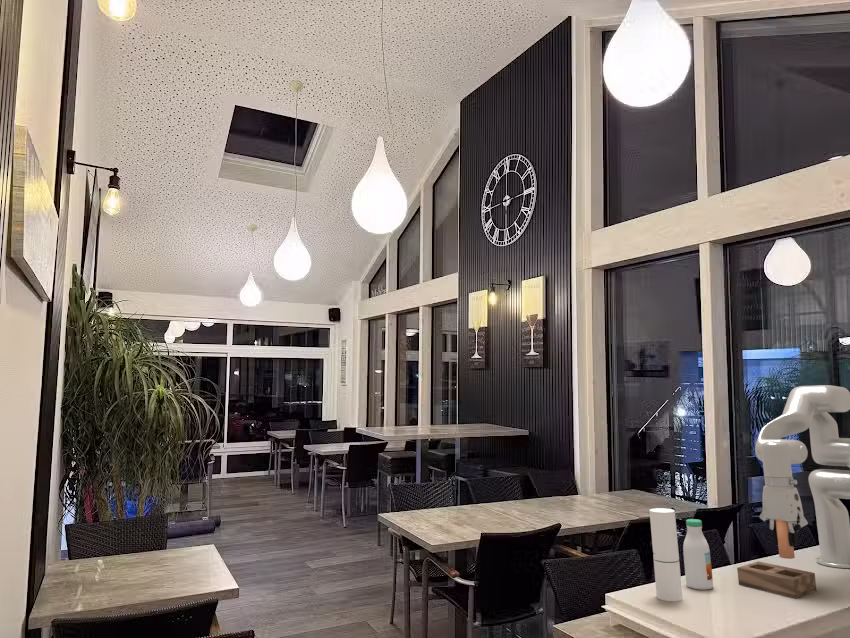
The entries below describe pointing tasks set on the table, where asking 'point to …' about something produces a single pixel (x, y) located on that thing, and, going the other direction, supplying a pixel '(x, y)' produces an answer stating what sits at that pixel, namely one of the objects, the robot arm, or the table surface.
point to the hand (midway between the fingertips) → (785, 543)
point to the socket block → (777, 579)
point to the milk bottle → (697, 557)
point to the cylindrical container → (665, 554)
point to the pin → (784, 540)
